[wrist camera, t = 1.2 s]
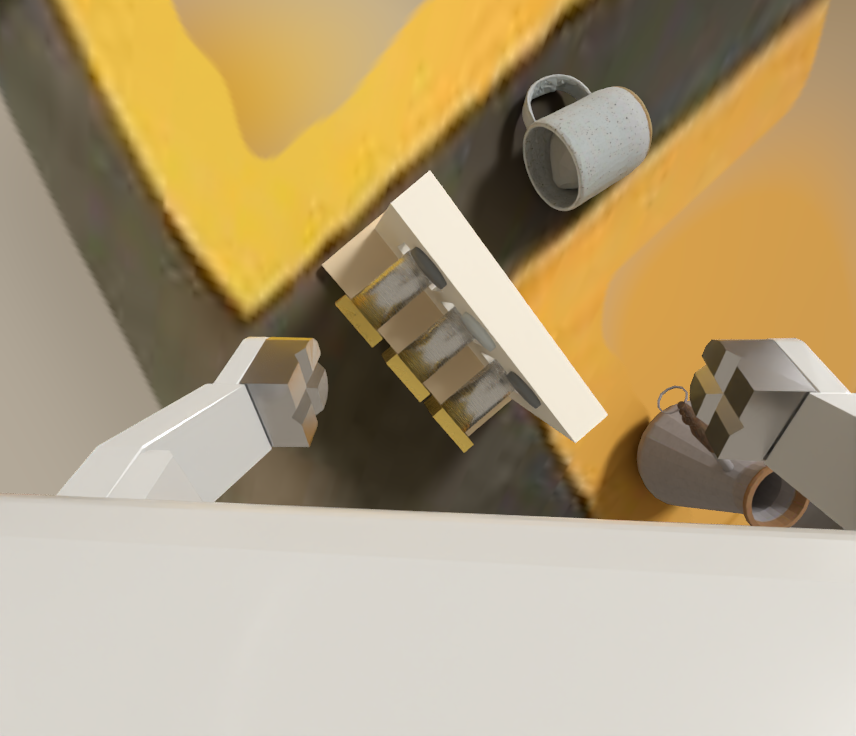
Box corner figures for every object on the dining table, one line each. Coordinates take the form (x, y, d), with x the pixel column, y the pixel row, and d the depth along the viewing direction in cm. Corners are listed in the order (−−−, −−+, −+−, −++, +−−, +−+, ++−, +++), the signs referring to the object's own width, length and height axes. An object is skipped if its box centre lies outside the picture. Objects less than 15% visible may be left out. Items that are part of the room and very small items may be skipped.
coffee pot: (735, 431, 51) (890, 491, 37) (671, 511, 52) (799, 601, 37) (607, 316, 46) (731, 333, 31) (537, 407, 46) (627, 465, 32)
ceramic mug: (619, 175, 43) (676, 151, 36) (547, 219, 42) (590, 204, 35) (571, 64, 40) (622, 13, 33) (494, 109, 40) (528, 68, 33)
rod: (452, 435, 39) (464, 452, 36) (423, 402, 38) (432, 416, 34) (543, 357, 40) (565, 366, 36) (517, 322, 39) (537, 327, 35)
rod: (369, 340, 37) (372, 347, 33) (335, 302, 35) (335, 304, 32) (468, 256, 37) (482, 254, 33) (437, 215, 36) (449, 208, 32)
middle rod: (412, 389, 38) (420, 402, 34) (381, 354, 37) (385, 363, 33) (507, 309, 38) (525, 312, 34) (479, 271, 37) (495, 270, 33)
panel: (466, 433, 45) (519, 499, 32) (321, 265, 40) (312, 257, 26) (549, 362, 45) (638, 396, 32) (417, 184, 40) (457, 135, 26)
